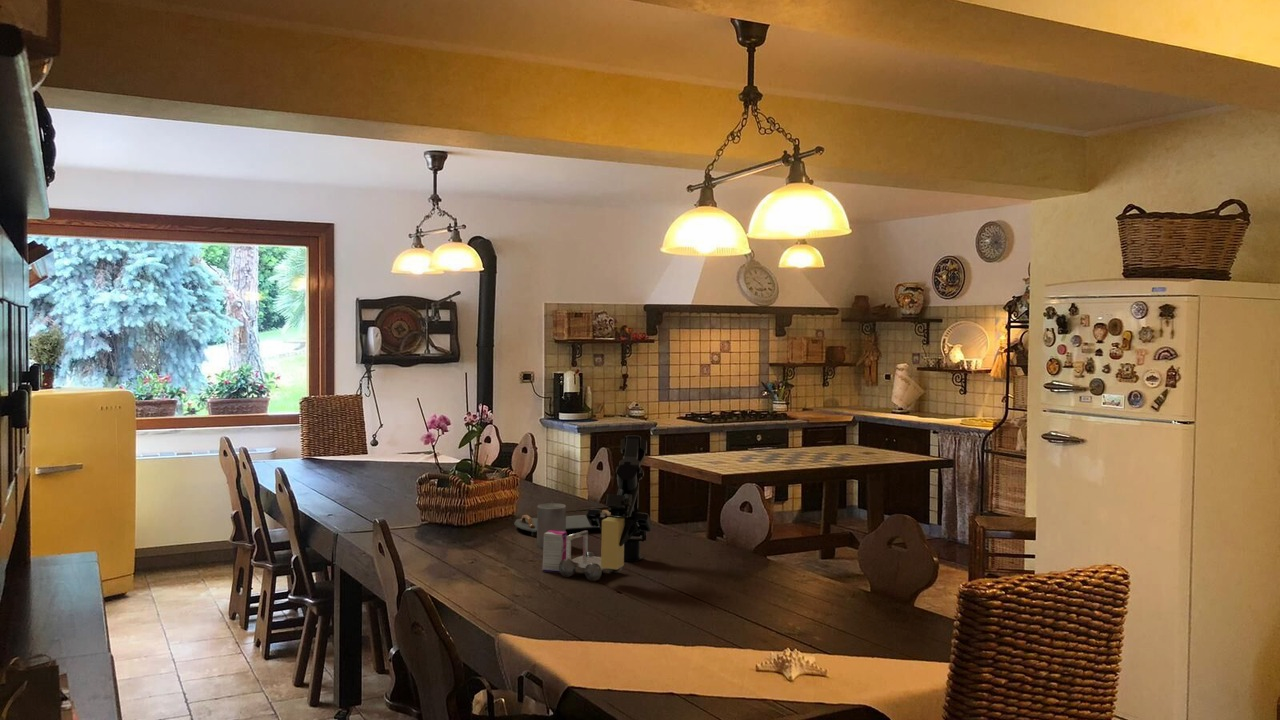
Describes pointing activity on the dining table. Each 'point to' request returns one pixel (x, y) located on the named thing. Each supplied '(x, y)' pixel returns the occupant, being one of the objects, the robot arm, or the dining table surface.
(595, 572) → the trolley
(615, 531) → the tall yellow block
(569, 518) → the serving board
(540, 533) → the pillar candle
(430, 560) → the dining table surface
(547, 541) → the supplement box
